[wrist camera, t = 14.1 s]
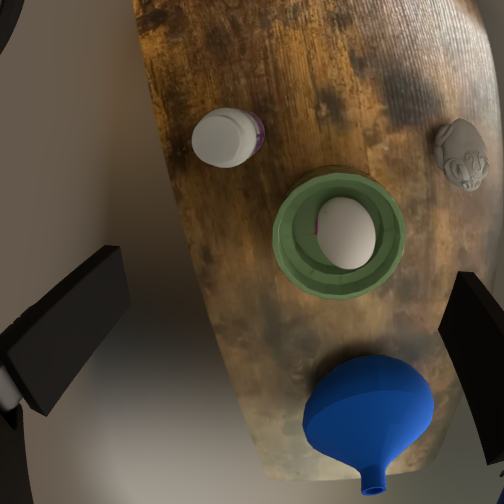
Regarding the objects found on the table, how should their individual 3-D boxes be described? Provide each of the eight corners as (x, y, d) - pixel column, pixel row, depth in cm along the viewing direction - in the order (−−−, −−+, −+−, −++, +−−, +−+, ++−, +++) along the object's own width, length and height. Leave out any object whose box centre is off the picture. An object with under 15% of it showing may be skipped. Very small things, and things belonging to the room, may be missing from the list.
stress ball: (316, 191, 35) (280, 212, 32) (377, 182, 29) (348, 205, 26) (334, 249, 38) (303, 277, 34) (393, 249, 32) (368, 282, 28)
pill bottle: (237, 167, 33) (211, 188, 25) (206, 131, 32) (169, 138, 23) (276, 136, 31) (264, 145, 22) (243, 98, 30) (218, 93, 21)
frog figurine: (426, 181, 30) (451, 198, 24) (419, 117, 27) (444, 120, 21) (470, 176, 28) (501, 192, 22) (465, 116, 26) (497, 119, 20)
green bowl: (275, 272, 38) (270, 294, 33) (278, 160, 32) (273, 168, 28) (383, 280, 36) (391, 303, 31) (400, 171, 30) (414, 181, 26)
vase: (339, 425, 48) (336, 519, 31) (282, 367, 44) (263, 483, 27) (434, 384, 41) (459, 483, 24) (397, 312, 37) (432, 435, 20)
